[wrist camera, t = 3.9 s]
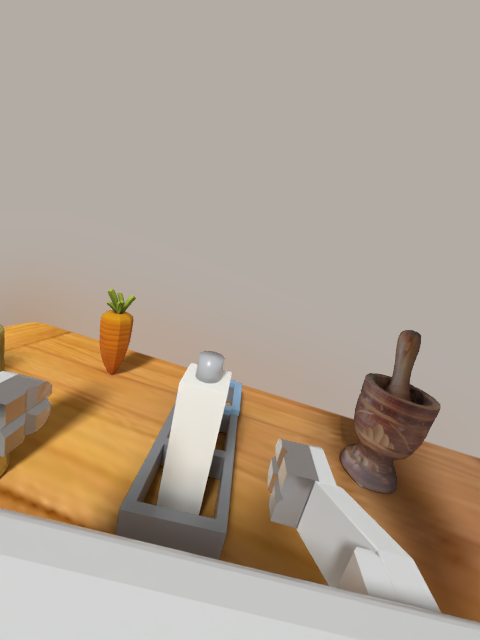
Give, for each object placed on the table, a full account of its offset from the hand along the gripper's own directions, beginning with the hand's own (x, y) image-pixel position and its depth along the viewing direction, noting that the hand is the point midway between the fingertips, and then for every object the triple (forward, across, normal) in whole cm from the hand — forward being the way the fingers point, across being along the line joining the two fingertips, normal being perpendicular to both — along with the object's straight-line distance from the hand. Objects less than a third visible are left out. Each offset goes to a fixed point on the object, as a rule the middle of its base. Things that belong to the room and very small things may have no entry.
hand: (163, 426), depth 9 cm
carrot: (+33, +17, +19) cm, 42 cm away
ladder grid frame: (+21, -1, +18) cm, 28 cm away
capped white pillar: (+13, -1, +18) cm, 23 cm away
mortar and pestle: (+25, -25, +18) cm, 40 cm away
